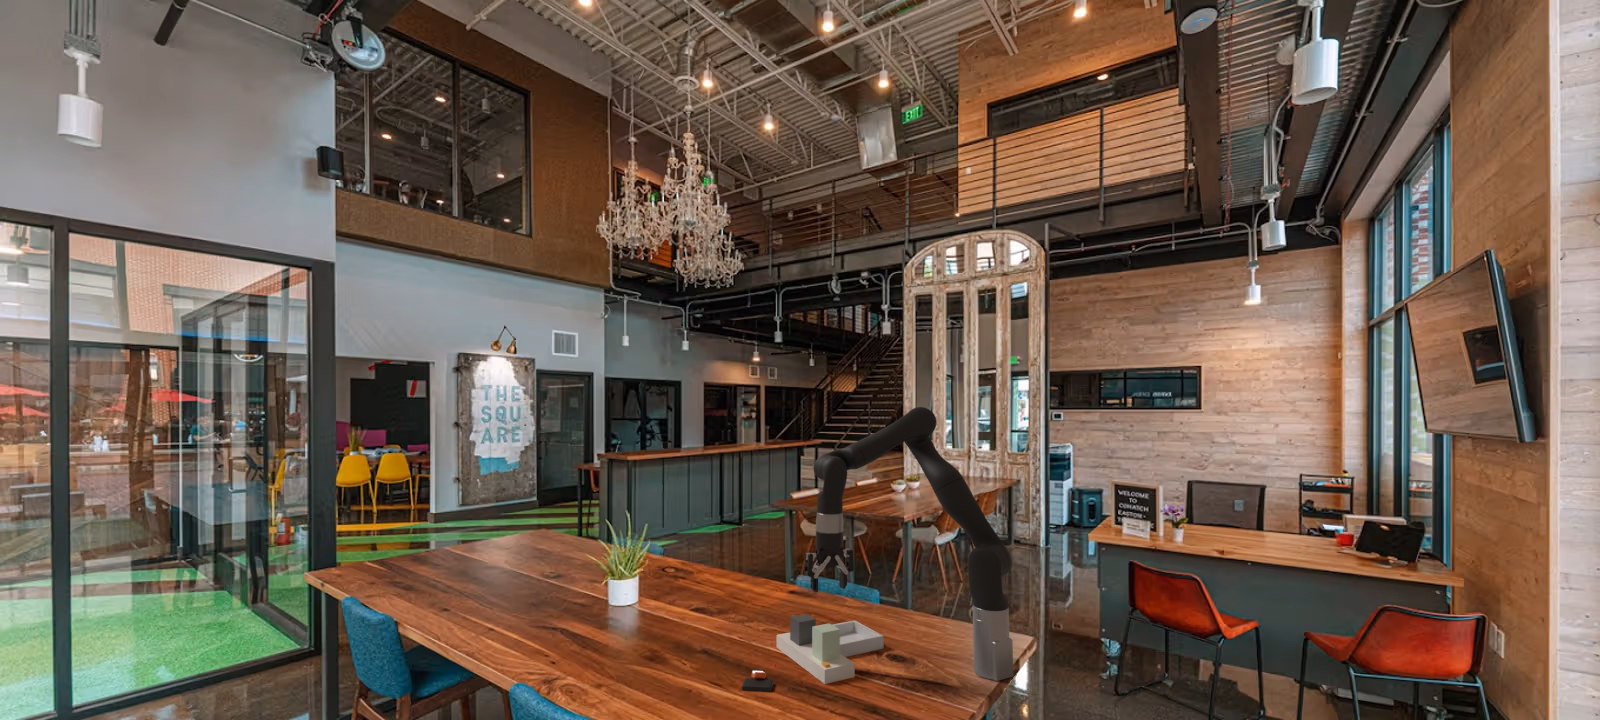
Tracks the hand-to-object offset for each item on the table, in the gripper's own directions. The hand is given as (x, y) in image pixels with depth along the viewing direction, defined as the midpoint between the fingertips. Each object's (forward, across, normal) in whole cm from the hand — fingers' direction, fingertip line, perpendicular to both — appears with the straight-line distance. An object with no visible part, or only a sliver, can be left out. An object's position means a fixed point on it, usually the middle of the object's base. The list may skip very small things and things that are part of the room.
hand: (829, 589), depth 169 cm
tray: (+21, +13, +12) cm, 27 cm away
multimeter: (+22, -19, +4) cm, 29 cm away
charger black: (+20, -2, +12) cm, 23 cm away
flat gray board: (+21, -2, +6) cm, 22 cm away
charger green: (+20, -1, -1) cm, 20 cm away
